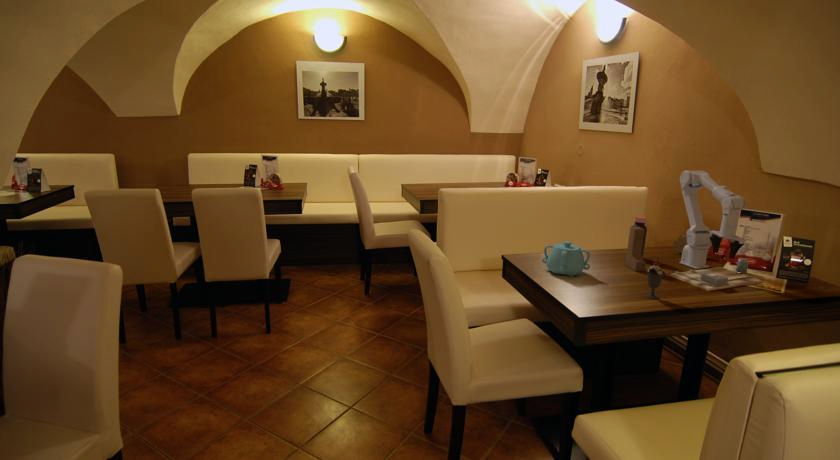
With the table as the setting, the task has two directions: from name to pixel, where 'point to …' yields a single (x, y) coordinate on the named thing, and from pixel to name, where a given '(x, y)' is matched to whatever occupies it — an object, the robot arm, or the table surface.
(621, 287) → the table surface
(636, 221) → the bottle
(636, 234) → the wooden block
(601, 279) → the table surface
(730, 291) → the table surface
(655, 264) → the sundae
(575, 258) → the decorative pot
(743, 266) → the marker peg
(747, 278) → the board
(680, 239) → the wooden carving
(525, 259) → the table surface
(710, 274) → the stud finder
